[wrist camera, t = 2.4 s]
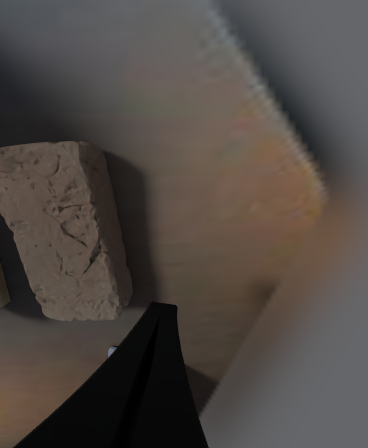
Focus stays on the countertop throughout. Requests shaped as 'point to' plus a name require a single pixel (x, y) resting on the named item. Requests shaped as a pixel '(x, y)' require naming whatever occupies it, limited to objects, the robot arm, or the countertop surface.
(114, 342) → the countertop surface
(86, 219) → the brick
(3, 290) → the batten
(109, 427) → the robot arm
